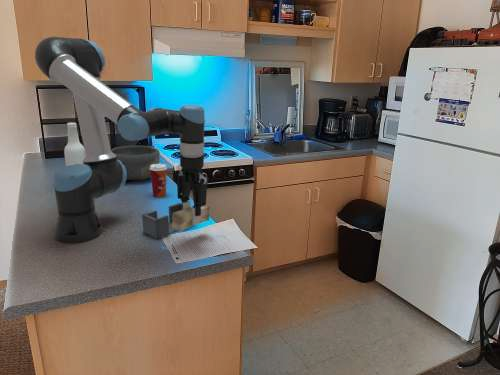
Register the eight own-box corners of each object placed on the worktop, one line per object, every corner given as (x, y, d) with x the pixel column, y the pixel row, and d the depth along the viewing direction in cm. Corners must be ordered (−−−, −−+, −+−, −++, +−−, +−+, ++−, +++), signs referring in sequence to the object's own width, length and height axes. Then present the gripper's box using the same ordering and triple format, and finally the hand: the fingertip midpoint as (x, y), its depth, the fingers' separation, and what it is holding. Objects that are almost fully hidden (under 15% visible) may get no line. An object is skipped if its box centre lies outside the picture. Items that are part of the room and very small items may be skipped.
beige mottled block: (180, 231, 124) (180, 216, 122) (172, 227, 126) (172, 213, 125) (209, 219, 134) (209, 206, 132) (201, 216, 136) (201, 203, 134)
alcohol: (74, 190, 176) (66, 125, 167) (65, 186, 181) (57, 122, 172) (92, 186, 183) (85, 123, 173) (83, 182, 188) (76, 121, 179)
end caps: (156, 239, 131) (155, 220, 129) (143, 232, 135) (142, 214, 133) (193, 224, 143) (193, 207, 141) (180, 219, 148) (180, 202, 146)
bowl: (168, 180, 195) (167, 151, 191) (121, 188, 181) (118, 157, 177) (149, 169, 214) (147, 143, 209) (104, 175, 200) (102, 147, 195)
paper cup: (164, 199, 169) (162, 168, 165) (147, 197, 171) (146, 166, 166) (171, 193, 176) (170, 164, 172) (155, 191, 178) (154, 162, 174)
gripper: (219, 158, 120) (216, 226, 127) (183, 148, 130) (183, 211, 138) (201, 162, 114) (200, 233, 122) (165, 151, 125) (166, 217, 132)
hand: (191, 221), depth 130 cm, fingers closed on beige mottled block, 4 cm apart
